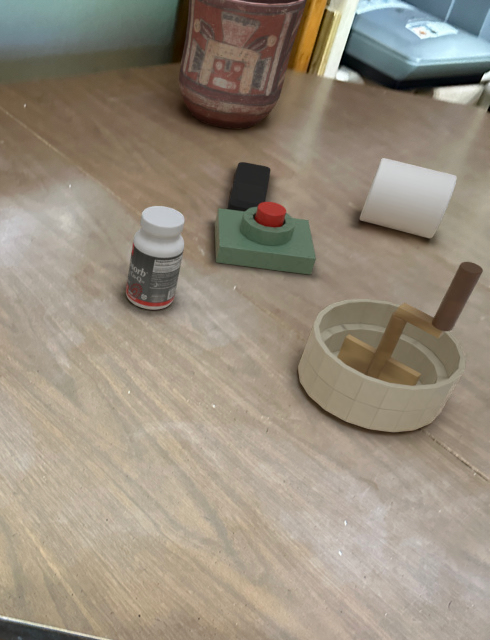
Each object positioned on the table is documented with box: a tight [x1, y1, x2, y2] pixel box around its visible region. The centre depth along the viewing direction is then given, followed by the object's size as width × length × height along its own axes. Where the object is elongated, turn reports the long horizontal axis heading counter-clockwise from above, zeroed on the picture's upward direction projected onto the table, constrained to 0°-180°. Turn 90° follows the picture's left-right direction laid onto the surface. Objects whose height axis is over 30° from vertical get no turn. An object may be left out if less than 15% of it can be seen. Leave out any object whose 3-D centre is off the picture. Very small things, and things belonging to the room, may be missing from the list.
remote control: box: [226, 161, 271, 212], centre depth 109 cm, size 5×2×15 cm
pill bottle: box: [125, 205, 186, 311], centre depth 86 cm, size 6×6×10 cm
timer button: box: [255, 201, 287, 228], centre depth 96 cm, size 4×4×2 cm
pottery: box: [178, 0, 308, 130], centre depth 121 cm, size 18×18×18 cm
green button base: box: [214, 207, 317, 276], centre depth 98 cm, size 12×10×4 cm
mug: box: [359, 157, 458, 239], centre depth 105 cm, size 12×10×8 cm
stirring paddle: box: [337, 261, 484, 386], centre depth 75 cm, size 9×2×15 cm, turn 45°
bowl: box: [297, 298, 467, 433], centre depth 80 cm, size 15×15×6 cm
